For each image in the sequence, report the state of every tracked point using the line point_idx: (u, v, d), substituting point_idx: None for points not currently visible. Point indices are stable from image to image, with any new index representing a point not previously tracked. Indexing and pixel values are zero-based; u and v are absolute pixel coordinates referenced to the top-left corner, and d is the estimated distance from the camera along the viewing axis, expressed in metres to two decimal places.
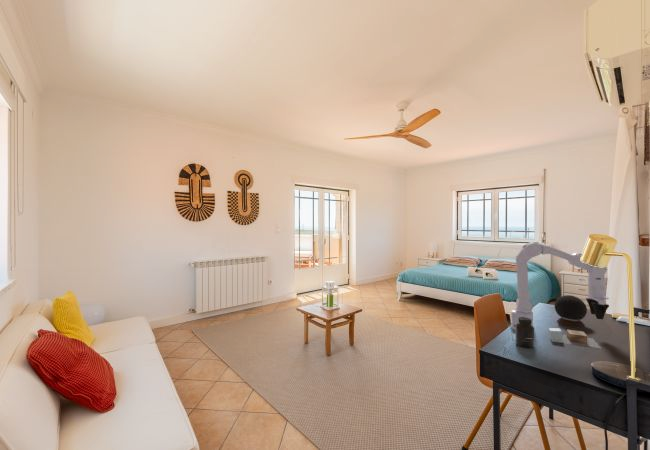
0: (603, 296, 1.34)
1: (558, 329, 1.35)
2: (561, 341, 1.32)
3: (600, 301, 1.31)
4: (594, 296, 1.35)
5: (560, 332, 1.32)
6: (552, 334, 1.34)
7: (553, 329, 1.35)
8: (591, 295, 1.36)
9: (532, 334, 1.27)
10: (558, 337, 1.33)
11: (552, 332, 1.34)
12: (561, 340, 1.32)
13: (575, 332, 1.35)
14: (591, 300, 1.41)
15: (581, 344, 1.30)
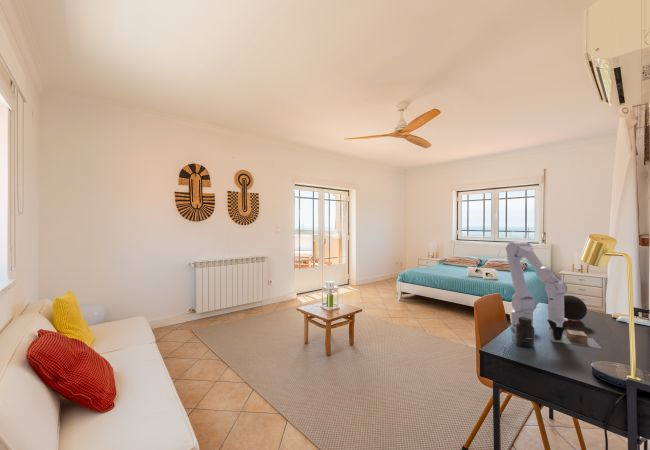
0: (562, 318, 1.32)
1: None
2: (561, 341, 1.32)
3: (558, 323, 1.28)
4: (553, 317, 1.33)
5: None
6: (552, 334, 1.34)
7: None
8: (550, 316, 1.34)
9: (532, 334, 1.27)
10: None
11: (552, 332, 1.34)
12: (561, 340, 1.32)
13: (575, 332, 1.35)
14: (552, 322, 1.37)
15: (581, 344, 1.30)
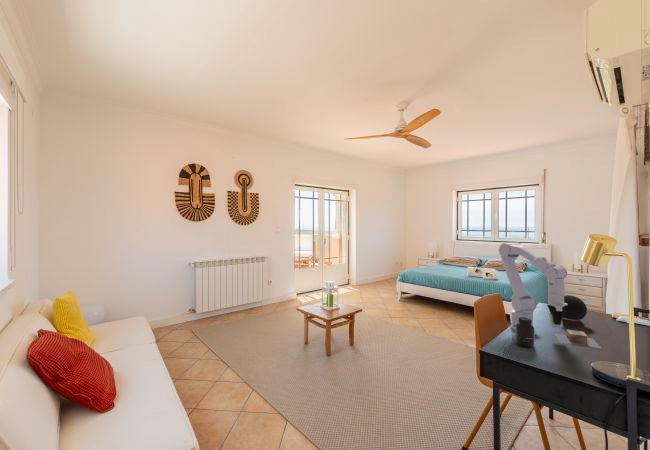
0: (562, 302, 1.32)
1: None
2: (561, 326, 1.32)
3: (557, 307, 1.28)
4: (553, 302, 1.33)
5: None
6: (552, 319, 1.34)
7: None
8: (550, 301, 1.34)
9: (532, 334, 1.27)
10: None
11: (552, 317, 1.34)
12: (561, 325, 1.32)
13: (575, 332, 1.35)
14: (552, 307, 1.37)
15: (581, 344, 1.30)
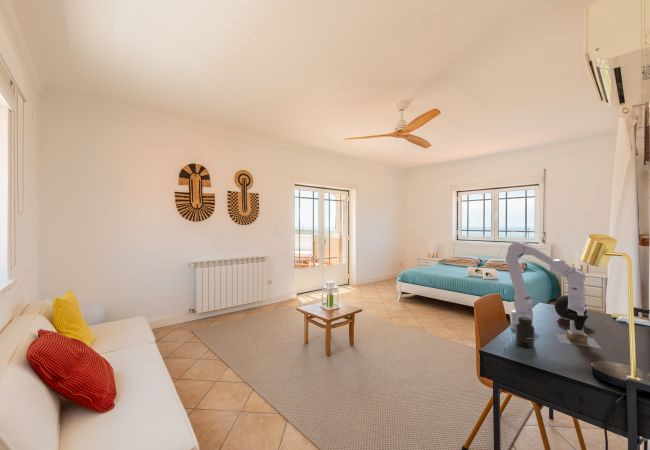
0: (582, 307, 1.31)
1: None
2: (582, 333, 1.32)
3: (579, 312, 1.28)
4: (573, 306, 1.33)
5: None
6: (573, 326, 1.33)
7: None
8: (570, 305, 1.34)
9: (532, 334, 1.27)
10: None
11: (573, 324, 1.33)
12: (582, 332, 1.32)
13: None
14: (571, 310, 1.38)
15: (581, 344, 1.30)
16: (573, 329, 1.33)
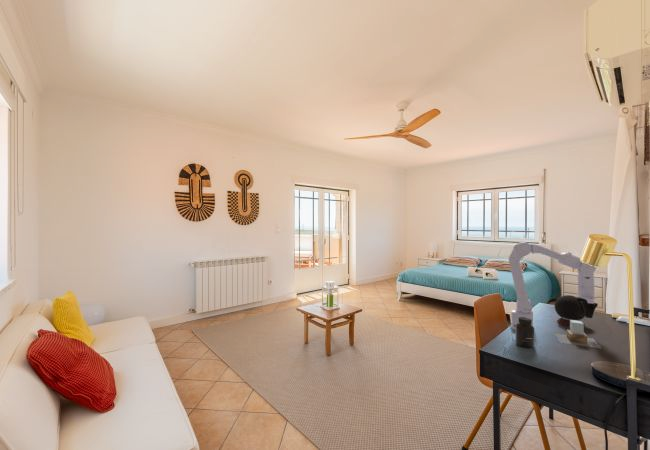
0: (592, 295, 1.35)
1: (580, 321, 1.34)
2: (582, 333, 1.32)
3: (589, 300, 1.32)
4: (583, 295, 1.36)
5: (582, 324, 1.32)
6: (573, 326, 1.33)
7: (574, 321, 1.35)
8: (580, 294, 1.37)
9: (532, 334, 1.27)
10: (579, 329, 1.32)
11: (573, 324, 1.33)
12: (582, 332, 1.32)
13: None
14: (581, 299, 1.42)
15: (581, 344, 1.30)
16: (573, 329, 1.33)
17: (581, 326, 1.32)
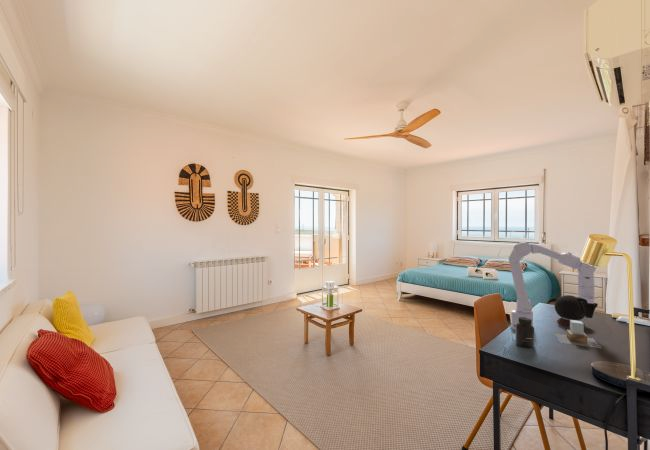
0: (592, 295, 1.35)
1: (580, 321, 1.34)
2: (582, 333, 1.32)
3: (589, 300, 1.32)
4: (583, 295, 1.36)
5: (582, 324, 1.32)
6: (573, 326, 1.33)
7: (574, 321, 1.35)
8: (580, 294, 1.37)
9: (532, 334, 1.27)
10: (579, 329, 1.32)
11: (573, 324, 1.33)
12: (582, 332, 1.32)
13: None
14: (581, 299, 1.42)
15: (581, 344, 1.30)
16: (573, 329, 1.33)
17: (581, 326, 1.32)
